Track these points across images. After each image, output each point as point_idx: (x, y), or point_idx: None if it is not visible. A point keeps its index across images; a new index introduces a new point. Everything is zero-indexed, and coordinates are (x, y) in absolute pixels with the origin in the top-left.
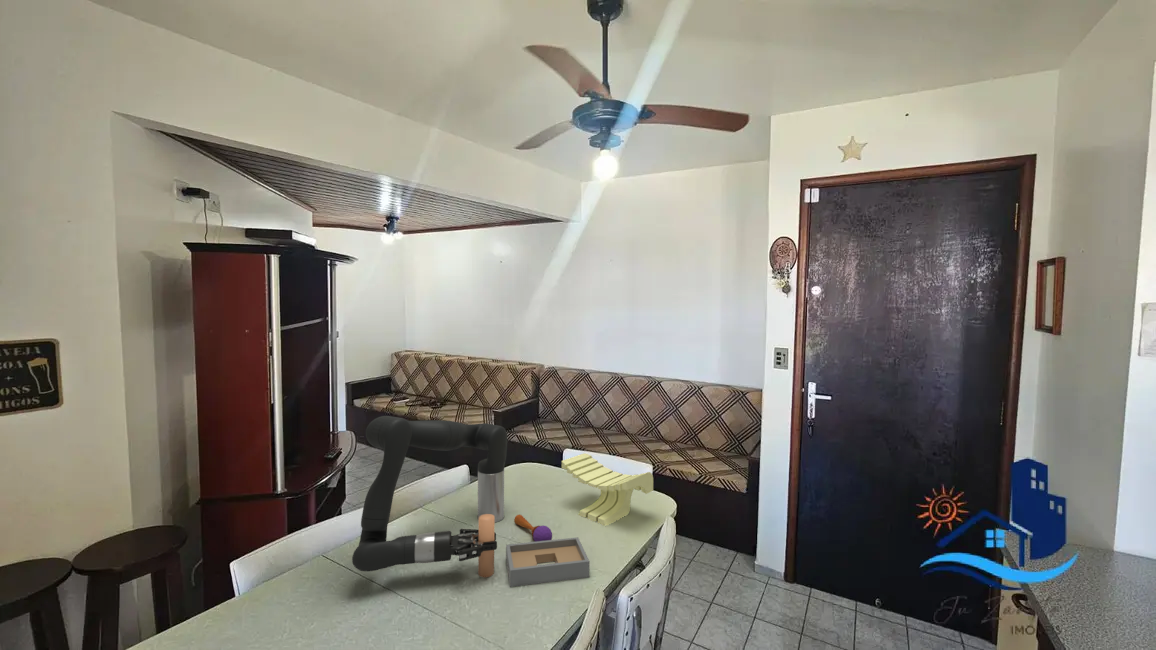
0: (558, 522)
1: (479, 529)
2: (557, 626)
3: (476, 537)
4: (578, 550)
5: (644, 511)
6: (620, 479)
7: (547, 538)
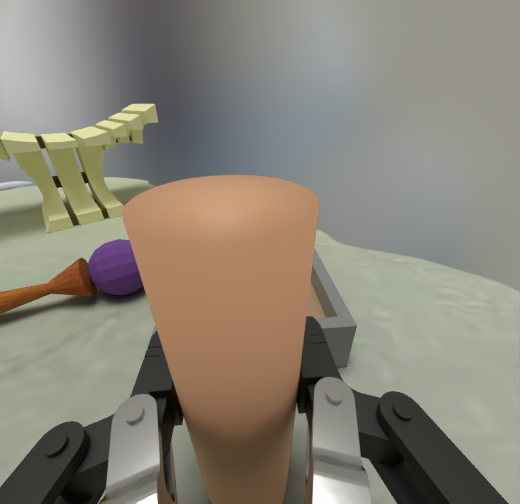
0: (45, 257)
1: (272, 343)
2: (466, 279)
3: (99, 487)
4: None
5: (120, 188)
6: (93, 129)
7: None
